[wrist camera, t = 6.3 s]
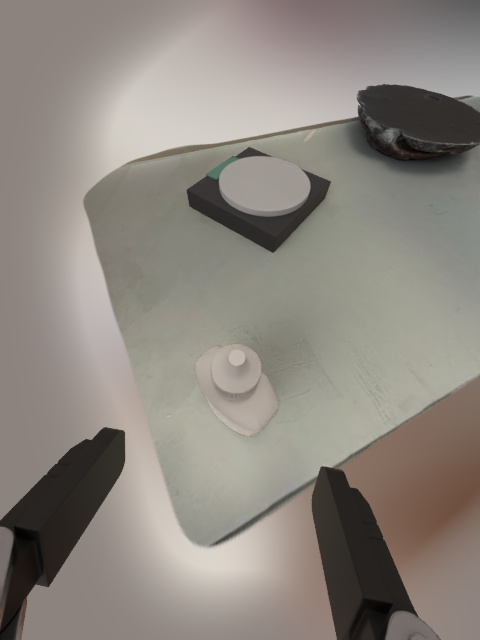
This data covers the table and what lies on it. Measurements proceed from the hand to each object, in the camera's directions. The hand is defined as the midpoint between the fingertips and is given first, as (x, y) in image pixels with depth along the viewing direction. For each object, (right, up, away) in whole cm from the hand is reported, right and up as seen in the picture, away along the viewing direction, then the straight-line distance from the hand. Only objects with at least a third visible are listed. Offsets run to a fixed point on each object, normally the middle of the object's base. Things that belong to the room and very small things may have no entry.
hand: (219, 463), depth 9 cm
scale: (+4, +23, +24) cm, 33 cm away
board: (+31, +38, +33) cm, 60 cm away
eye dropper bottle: (0, -2, +11) cm, 11 cm away
